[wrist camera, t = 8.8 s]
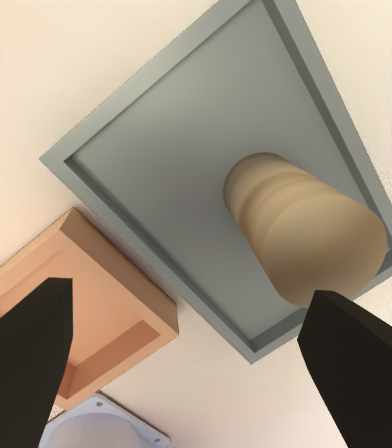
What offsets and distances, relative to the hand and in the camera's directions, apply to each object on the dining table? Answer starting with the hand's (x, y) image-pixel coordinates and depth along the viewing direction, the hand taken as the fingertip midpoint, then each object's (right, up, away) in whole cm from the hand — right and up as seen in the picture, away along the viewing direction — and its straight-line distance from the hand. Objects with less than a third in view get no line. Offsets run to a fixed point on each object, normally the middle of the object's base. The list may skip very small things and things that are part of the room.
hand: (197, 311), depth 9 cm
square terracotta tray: (-8, -3, +11) cm, 14 cm away
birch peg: (+4, +5, +9) cm, 11 cm away
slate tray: (+3, +4, +10) cm, 11 cm away
